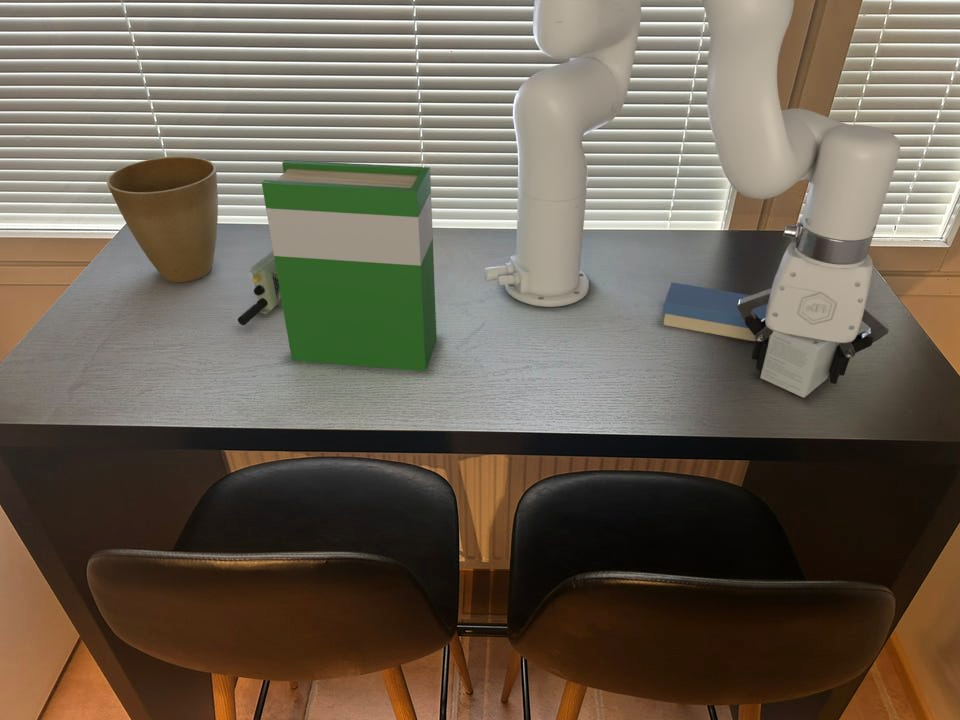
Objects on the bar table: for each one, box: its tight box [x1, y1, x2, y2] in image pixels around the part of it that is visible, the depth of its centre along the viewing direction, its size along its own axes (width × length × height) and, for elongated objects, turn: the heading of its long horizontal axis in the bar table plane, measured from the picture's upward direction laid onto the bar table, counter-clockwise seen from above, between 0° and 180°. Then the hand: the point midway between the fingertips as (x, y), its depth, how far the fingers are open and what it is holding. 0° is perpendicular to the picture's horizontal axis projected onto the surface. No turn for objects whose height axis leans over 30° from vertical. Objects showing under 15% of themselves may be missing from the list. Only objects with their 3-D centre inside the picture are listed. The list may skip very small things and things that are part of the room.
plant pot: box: [106, 155, 219, 283], centre depth 114 cm, size 15×15×16 cm
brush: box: [662, 281, 770, 342], centre depth 104 cm, size 15×6×4 cm, turn 70°
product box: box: [759, 331, 839, 398], centre depth 93 cm, size 6×6×7 cm
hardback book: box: [261, 159, 438, 372], centre depth 93 cm, size 18×7×24 cm, turn 82°
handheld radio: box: [237, 250, 282, 326], centre depth 112 cm, size 7×3×25 cm
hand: (795, 370), depth 94 cm, fingers closed on product box, 8 cm apart
